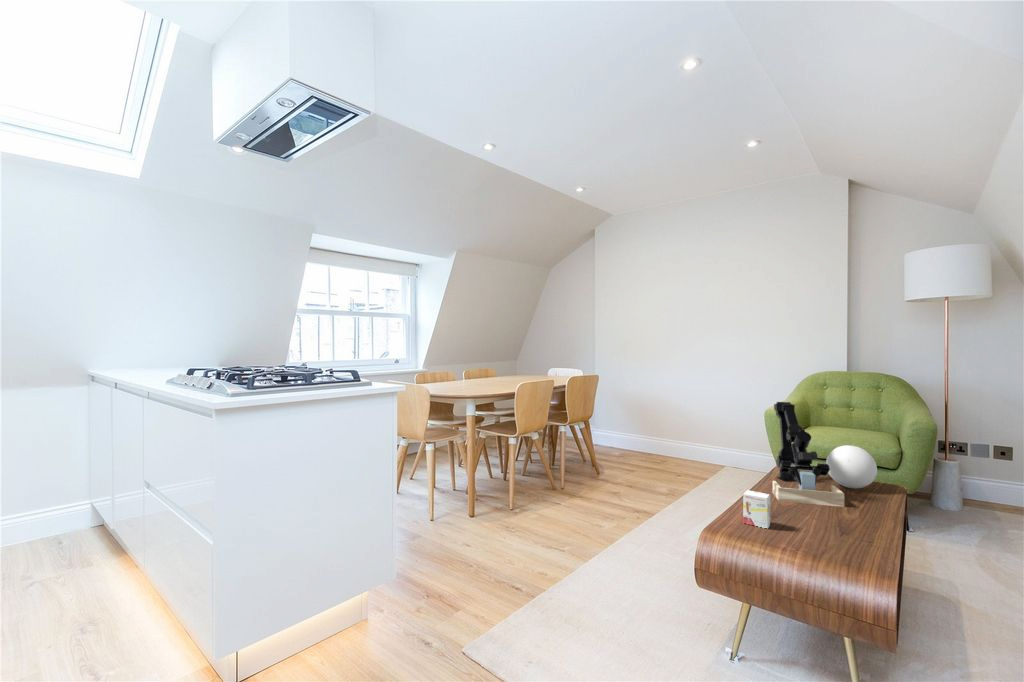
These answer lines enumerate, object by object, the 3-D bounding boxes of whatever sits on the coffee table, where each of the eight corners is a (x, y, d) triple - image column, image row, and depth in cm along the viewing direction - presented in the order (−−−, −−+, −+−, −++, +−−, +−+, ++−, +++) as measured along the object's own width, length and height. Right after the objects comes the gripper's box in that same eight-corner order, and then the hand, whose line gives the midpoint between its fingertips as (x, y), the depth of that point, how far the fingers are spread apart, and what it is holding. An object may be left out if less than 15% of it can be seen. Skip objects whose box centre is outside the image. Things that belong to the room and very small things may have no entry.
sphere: (870, 497, 209) (870, 452, 209) (820, 486, 224) (820, 445, 225) (882, 488, 222) (882, 446, 222) (833, 479, 237) (833, 439, 237)
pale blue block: (798, 495, 207) (798, 471, 207) (811, 496, 206) (811, 472, 206) (802, 499, 202) (802, 474, 202) (815, 500, 201) (815, 475, 201)
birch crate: (772, 493, 213) (772, 480, 213) (834, 499, 206) (834, 485, 206) (778, 501, 202) (778, 488, 202) (844, 508, 195) (844, 493, 195)
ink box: (742, 523, 177) (742, 492, 177) (745, 520, 181) (745, 489, 181) (767, 529, 172) (767, 497, 172) (770, 525, 176) (770, 494, 176)
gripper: (780, 442, 211) (787, 473, 200) (828, 445, 205) (837, 477, 194) (776, 456, 218) (782, 486, 208) (822, 459, 212) (830, 490, 202)
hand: (807, 485), depth 203 cm, fingers closed on pale blue block, 5 cm apart
